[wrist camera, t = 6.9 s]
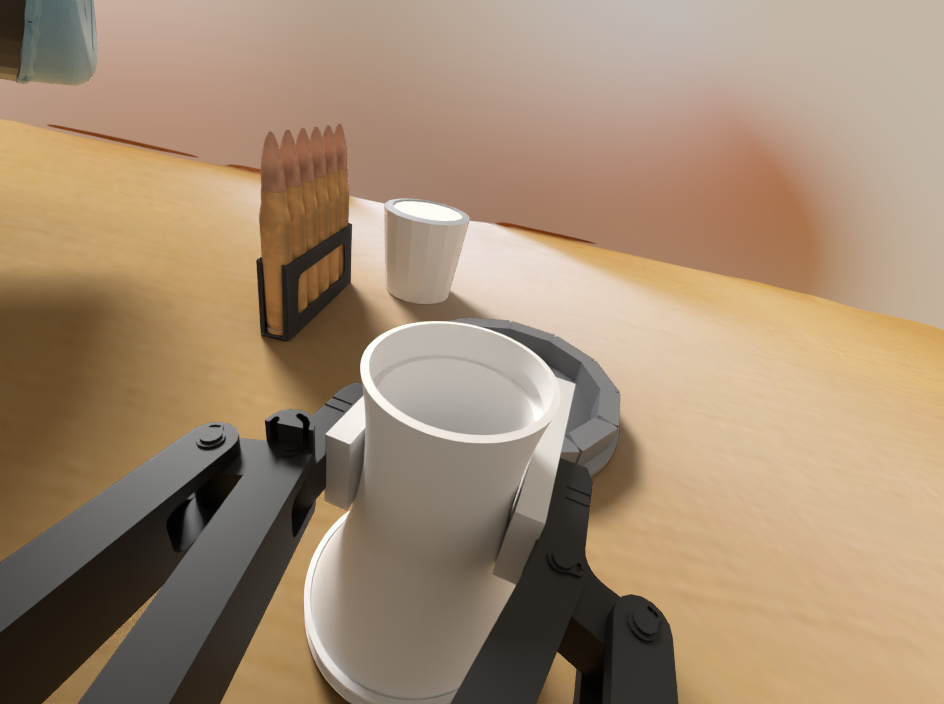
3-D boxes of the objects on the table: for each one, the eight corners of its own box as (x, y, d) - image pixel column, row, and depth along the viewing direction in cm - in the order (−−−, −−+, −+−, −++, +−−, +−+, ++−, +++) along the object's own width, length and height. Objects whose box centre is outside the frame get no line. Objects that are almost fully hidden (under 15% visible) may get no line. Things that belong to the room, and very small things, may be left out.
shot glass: (452, 278, 41) (465, 205, 37) (460, 311, 35) (476, 229, 32) (379, 269, 40) (385, 192, 36) (376, 302, 34) (382, 215, 30)
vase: (303, 761, 11) (288, 530, 6) (305, 518, 17) (299, 294, 12) (550, 681, 14) (688, 473, 9) (479, 494, 20) (536, 302, 15)
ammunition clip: (287, 342, 27) (278, 136, 21) (259, 336, 27) (241, 128, 21) (350, 282, 36) (357, 126, 30) (330, 277, 36) (332, 120, 30)
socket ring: (340, 427, 22) (341, 395, 21) (442, 320, 33) (446, 296, 32) (610, 535, 19) (628, 505, 18) (618, 379, 31) (630, 355, 30)
